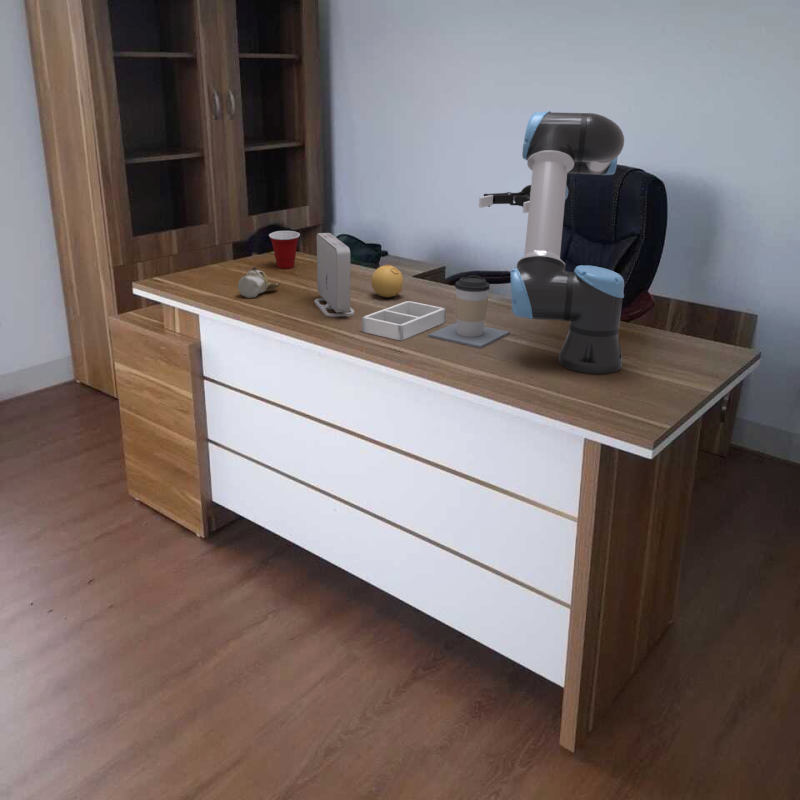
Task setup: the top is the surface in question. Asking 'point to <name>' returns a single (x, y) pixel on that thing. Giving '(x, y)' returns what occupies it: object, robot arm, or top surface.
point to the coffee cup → (471, 305)
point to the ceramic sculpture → (255, 283)
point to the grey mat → (478, 341)
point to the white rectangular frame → (403, 320)
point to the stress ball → (387, 281)
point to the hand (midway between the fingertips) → (501, 205)
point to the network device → (333, 275)
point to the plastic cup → (284, 248)
